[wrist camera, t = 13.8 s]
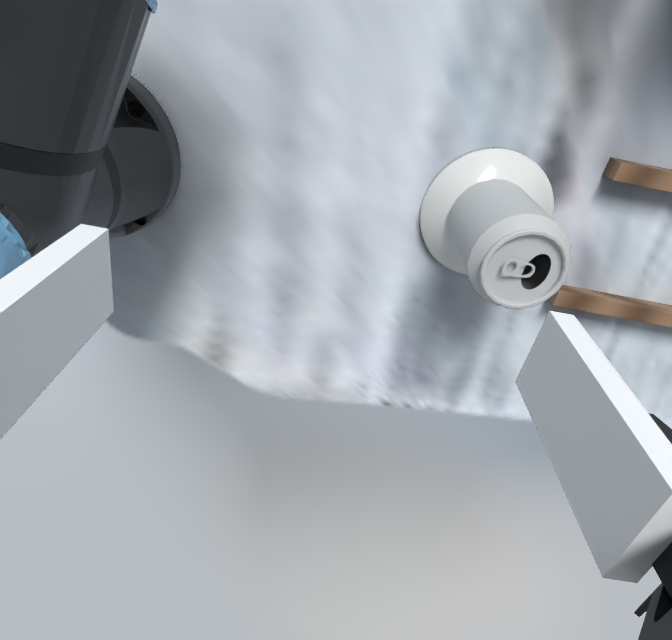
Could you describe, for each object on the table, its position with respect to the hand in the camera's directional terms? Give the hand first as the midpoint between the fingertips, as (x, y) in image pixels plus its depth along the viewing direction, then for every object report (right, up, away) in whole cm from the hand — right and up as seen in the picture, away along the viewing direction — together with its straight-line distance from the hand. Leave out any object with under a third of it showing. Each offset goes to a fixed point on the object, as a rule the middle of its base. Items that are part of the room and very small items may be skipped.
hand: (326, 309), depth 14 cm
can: (+14, +9, +30) cm, 35 cm away
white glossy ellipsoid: (+14, +10, +30) cm, 35 cm away
